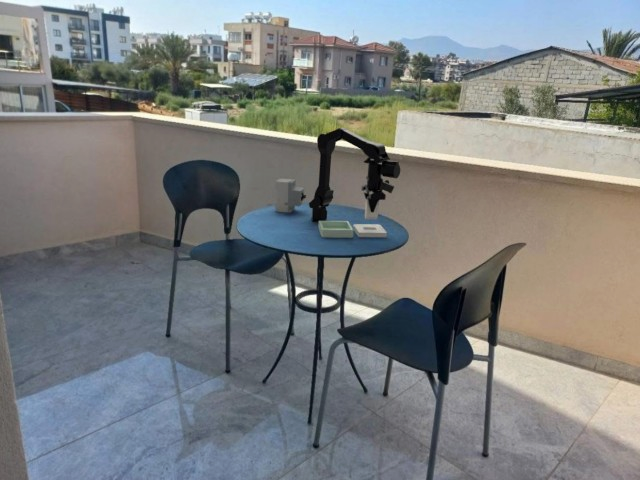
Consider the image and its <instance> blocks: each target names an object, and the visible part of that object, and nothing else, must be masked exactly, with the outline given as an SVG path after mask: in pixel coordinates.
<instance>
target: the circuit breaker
mask: <svg viewBox="0 0 640 480" xmlns="http://www.w3.org/2000/svg"><path fill="white" fill-rule="evenodd" d="M296 183H297V182H296V179H289V178H278V179H277V180H275V185H274V187H275V188H274V190H275V191H276V201H275V202H274V212H280V213H287V214H288V213H292V212H293V211H294V210H295V209H296V207H301V206H302V205H303V204H304V203H305V202H304V199H306V198H307V195H306V194H305V188H304V187H300V186H299V187H298V186H296Z"/></svg>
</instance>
